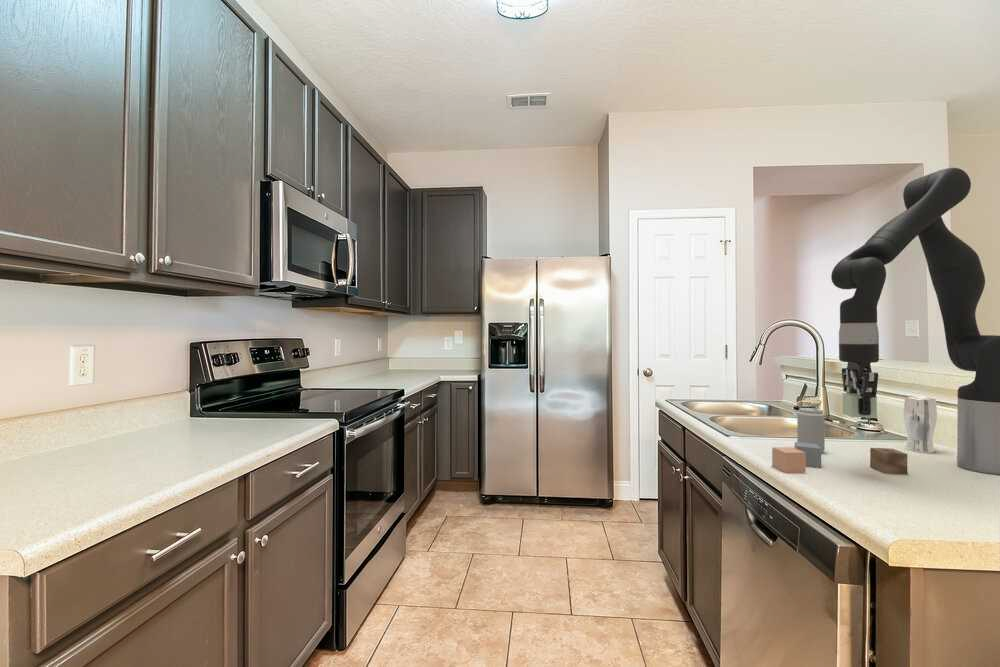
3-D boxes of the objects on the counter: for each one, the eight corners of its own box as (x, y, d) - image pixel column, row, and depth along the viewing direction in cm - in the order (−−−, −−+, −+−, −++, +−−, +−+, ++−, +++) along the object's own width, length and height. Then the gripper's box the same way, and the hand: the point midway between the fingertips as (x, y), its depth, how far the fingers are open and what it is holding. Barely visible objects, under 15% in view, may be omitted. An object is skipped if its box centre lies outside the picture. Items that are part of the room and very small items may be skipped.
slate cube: (817, 463, 117) (817, 444, 117) (821, 468, 112) (821, 448, 112) (794, 460, 119) (794, 441, 119) (797, 465, 115) (797, 446, 115)
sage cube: (867, 414, 110) (866, 393, 110) (876, 418, 105) (876, 396, 105) (842, 413, 111) (842, 393, 111) (851, 417, 106) (851, 395, 106)
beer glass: (943, 453, 126) (944, 400, 126) (918, 453, 126) (918, 400, 126) (920, 447, 133) (921, 396, 133) (897, 447, 133) (897, 396, 133)
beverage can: (829, 454, 125) (829, 411, 125) (803, 453, 126) (803, 410, 126) (817, 448, 131) (817, 407, 131) (793, 447, 132) (793, 407, 132)
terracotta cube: (791, 466, 114) (791, 447, 114) (805, 473, 109) (805, 452, 109) (772, 467, 114) (772, 447, 113) (785, 473, 109) (785, 452, 108)
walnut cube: (892, 468, 112) (892, 448, 112) (907, 474, 107) (907, 453, 107) (870, 467, 113) (870, 447, 113) (884, 473, 108) (884, 453, 108)
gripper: (892, 342, 100) (893, 419, 100) (863, 341, 114) (864, 408, 114) (852, 343, 102) (853, 417, 102) (828, 341, 116) (829, 407, 116)
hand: (859, 412), depth 108 cm, fingers closed on sage cube, 5 cm apart
